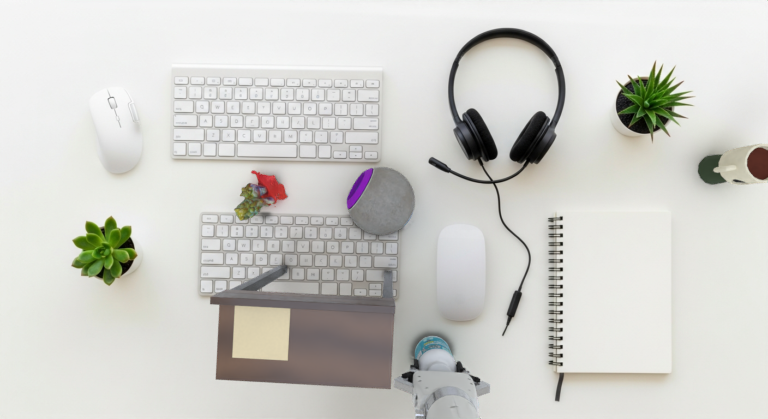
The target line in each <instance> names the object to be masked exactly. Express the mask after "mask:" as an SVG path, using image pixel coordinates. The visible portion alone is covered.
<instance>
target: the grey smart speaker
mask: <svg viewBox="0 0 768 419" xmlns="http://www.w3.org/2000/svg"><path fill="white" fill-rule="evenodd" d="M347 194H348V195H347V197H346V208H347V211H348V214H349V216H350V218H351V221H353V222H354V224H355V225H356V226H357V227H358V228H359V229H361V230H362V231H364V232H366V233H368V234H371V235H375V236H385V235H390V234H395V233H396V232H398V231H400V230H401V229H403V228H404V227H405V226H406V225H407V224H408V223H409V221H410V219H412V216H413V213H414V211H415V207H416V198H415V197H416V196H415V191H414V189H413V187H412V185H411V182H410V181H409V180H408V179H407V177H406V176H405V175H404V174H402V173H401V172H399V171H398V170H396V169H393V168H390V167H385V166H377V167H369V168H368V169H366V170H364V171H362V173H360V175H359V176H358V177H357V179H356V180H355V182H354V183H353V184H352V187H351V188H350V190H349V193H347Z"/></svg>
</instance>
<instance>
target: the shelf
mask: <svg viewBox="0 0 768 419" xmlns="http://www.w3.org/2000/svg"><path fill="white" fill-rule="evenodd" d="M209 298H210V299H209V305H216V306H218V324H217V325H218V326H217V345H216V363H215V380H216V381H217V380H218V381H232V382H233V381H235V382H250V383H269V384H286V385H287V384H288V385H307V386H324V387H343V388H360V389H377V390H378V389H379V390H391V389H392V372H393V371H392V369H393V350H394V330H395V329H394V328H395V314H396V298H395V297H393V298H382V296H381V297H380V296H379V297H378V296H357V295H340V294H321V293H320V294H319V293H304V292H285V291H284V292H283V291H267V290H266V291H265V290H257V291H246V290H230V289H224V290H222V291H220V292H217V293H216V294H213V295H211V296H210V297H209Z"/></svg>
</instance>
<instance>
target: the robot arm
mask: <svg viewBox="0 0 768 419" xmlns="http://www.w3.org/2000/svg"><path fill="white" fill-rule="evenodd" d="M455 363H456V366H457V372H442V371H419V363H418V360H417V359H415V358H413V364H410V366H409V371H406V372H402V373H401V376H398V377H395V378H394V379H393V388H395V389H398V390H400V391H403V392H406V393H408V394H411V401H412V405H413V409H414V419H481V417H480V410H479V408H480V407H479V398H478V397H481V396H484V395H487V394H489V393H491V384H490V383H489V382H486V381H484V380H481V378H480V377H478V376H475V375H472V374H471V371H470V370H467V369H466V367H464V366H463V364H462V361H461V360H460V361H459V360H457V361H455Z"/></svg>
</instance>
